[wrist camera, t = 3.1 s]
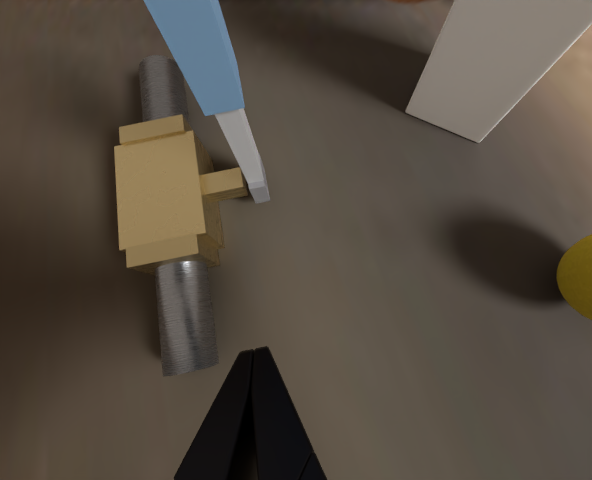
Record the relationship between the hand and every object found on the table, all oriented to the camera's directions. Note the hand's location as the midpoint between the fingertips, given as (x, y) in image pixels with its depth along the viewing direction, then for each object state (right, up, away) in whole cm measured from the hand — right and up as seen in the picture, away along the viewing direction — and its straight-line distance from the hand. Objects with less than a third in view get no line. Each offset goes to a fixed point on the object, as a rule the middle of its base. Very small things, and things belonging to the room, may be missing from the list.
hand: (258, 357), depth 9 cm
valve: (-6, +6, +14) cm, 16 cm away
